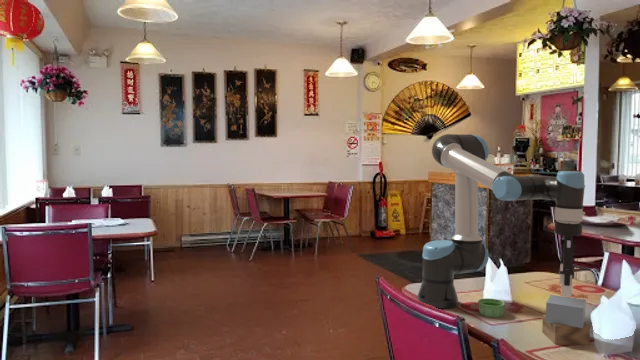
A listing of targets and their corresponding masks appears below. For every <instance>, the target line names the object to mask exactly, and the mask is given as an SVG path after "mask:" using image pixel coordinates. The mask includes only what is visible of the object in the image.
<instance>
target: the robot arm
mask: <svg viewBox="0 0 640 360" xmlns="http://www.w3.org/2000/svg"><path fill="white" fill-rule="evenodd" d="M489 153H490V152H489V146H488V144H487V142H486V140H485V139H484V138H483V137H482V136H479V135H476V134H469V133H468V134H456V133H455V134H453V133H447V134H446V133H445V134H442V135H441V136H439V137H437V138H436V140H435V141H433V144H432V146H431V154H432V157H433V159H434V160H435V161H436V163H438V164H439V165H440V166H443V167H444V168H446V169H451V171H453V172H454V175H455V176H454V178H455V179H454V185H455V186H454V195H455V196H454V199H455V201H454V202H455V203H454V204H455V206H454V207H455V208H454V213H455V214H454V215H455V216H454V218H455V221H454V222H455V226H454V227H455V228H454V231H455V232H454V233H455V234H454V235H453V236H452V237H451V239H450V240H449V239H448V240H447V239H441V240H439V239H437V240H436V239H435V240H432V241H428V242H426V243H425V244H424V245H423V247H422V255H421V256H422V283H421V285H420V288H419V291H418V293H417V300H419V301H421V302H423V303H426V304H429V305H432V306H435V307H437V308H436V309H452V308H454V307H457V306H458V305H459V297H458V294H457V290H456V287H455V285H454V279H455V278H454V277H455V276H454V275H457V274H465V273H467V274H468V273H475V272H480V271H482V270H483V269H484V268H486V266H487V265H488V262H489V258H490V255H489V249H488V248H487V245H486V244H485V243H484V242H483V237H481V236H480V235H479V184H481V185H483V186H485V187H486V188H488V189H489V190H491V191H492V194H493V195H494V196H495V198H497V199H498V200H499V201H506V202H512V201H513V202H514V201H524V200H526V201H527V200H530V201H531V200H548V201H555V211H554V220H555V222H554V233H555V234H556V235H559V236H561V238H560V239H559V245H560V258H559V259H560V267H559V284H560V285H561V287H560V296H563V297H570V298H572V289H573V274H574V255H575V247H576V241H575V239H573V237H579V236H582V235H583V224H582V222H583V217H584V215H586V212H585V211H583V210H584V197H585V188H586V185H585V174H584V173H583V172H582V171H576V170H575V171H573V170H571V171H570V170H559V171H558V172H557V174H556V176H549V175H541V174H533V175H531V174H530V175H516V174H513V173H511V172H509V171H507V170H505V169H504V168H503V169H502V167H499V166H497V165H495V164H492V163H491V162H489V161H487V159H488V158H489V155H490V154H489Z"/></svg>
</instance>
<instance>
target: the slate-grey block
mask: <svg viewBox="0 0 640 360" xmlns="http://www.w3.org/2000/svg"><path fill="white" fill-rule="evenodd" d="M586 301H587V300H586V299H584V298H583V299H582V298H576V297H575V298H574V297H570V296H562V295H555V294H550V295H549V297H548V298H547V301H546V303H545V315H546V322H550V323H556V324H561V325H567V326H573V327H579V328H583V325H584V323H585V321H586V307H587V306H586V305H587V302H586Z"/></svg>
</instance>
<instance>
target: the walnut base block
mask: <svg viewBox="0 0 640 360" xmlns="http://www.w3.org/2000/svg"><path fill="white" fill-rule="evenodd" d="M541 328H542V330H541V331H542V334H544V336H546V338H548V339H549V340H550V341H551V342H552V343H553V344H554V345H559V346H560V345H564V346H567V345H568V346H590V337H591V326H590V325H588V324H587V323H586V322H584V325H583V328H579V327H573V326H567V325H561V324H556V323H550V322H546V314H542V327H541Z"/></svg>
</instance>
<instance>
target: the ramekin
mask: <svg viewBox="0 0 640 360" xmlns="http://www.w3.org/2000/svg"><path fill="white" fill-rule="evenodd" d="M477 303H478V309H479V311H478V312H479V314H480V315H482V316H483V317H488V318H500V317H502V316H503V315H504V312H505V305H506V304H505V302H504V301H502V300H500V299H496V298H495V299H494V298H480V299H478V301H477Z"/></svg>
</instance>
